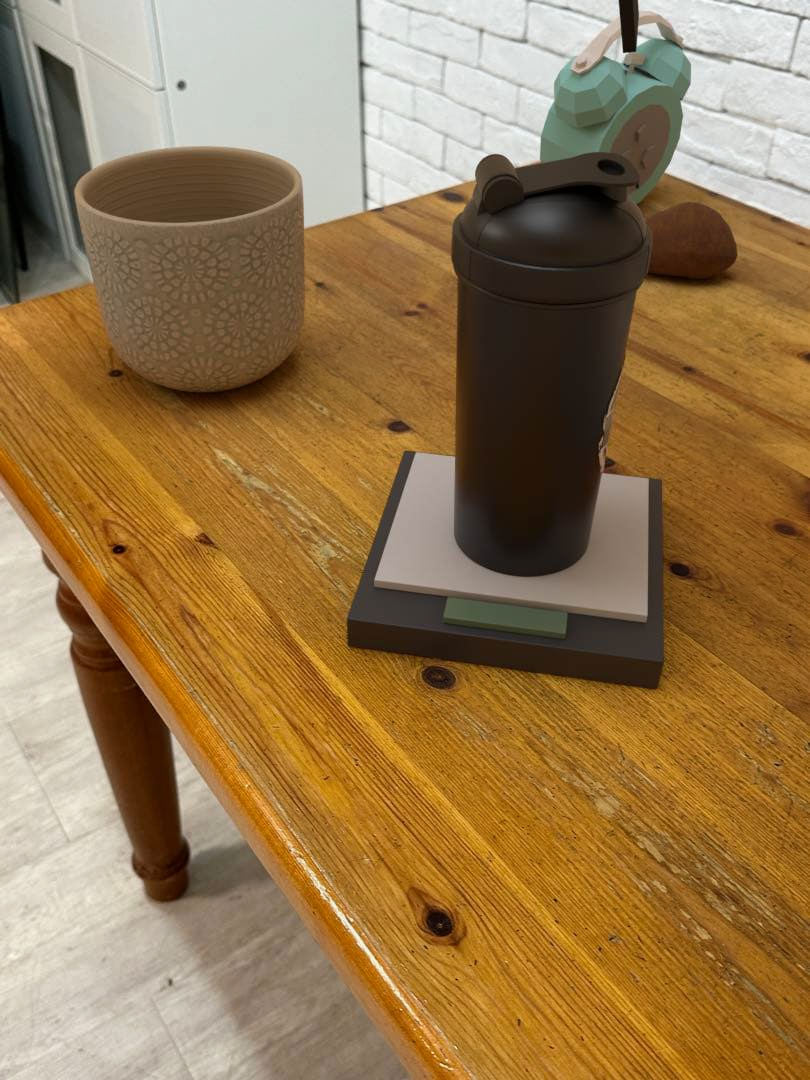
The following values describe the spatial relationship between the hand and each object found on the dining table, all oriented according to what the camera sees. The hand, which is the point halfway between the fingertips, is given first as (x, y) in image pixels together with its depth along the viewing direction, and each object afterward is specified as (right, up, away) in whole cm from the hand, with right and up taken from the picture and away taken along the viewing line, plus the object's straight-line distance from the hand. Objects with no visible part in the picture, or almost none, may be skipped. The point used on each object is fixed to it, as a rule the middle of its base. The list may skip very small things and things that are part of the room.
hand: (755, 22), depth 58 cm
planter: (-36, -14, +30) cm, 49 cm away
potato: (+7, -3, +45) cm, 46 cm away
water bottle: (-12, -29, +7) cm, 32 cm away
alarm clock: (+3, +9, +60) cm, 60 cm away
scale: (-12, -31, +9) cm, 34 cm away
